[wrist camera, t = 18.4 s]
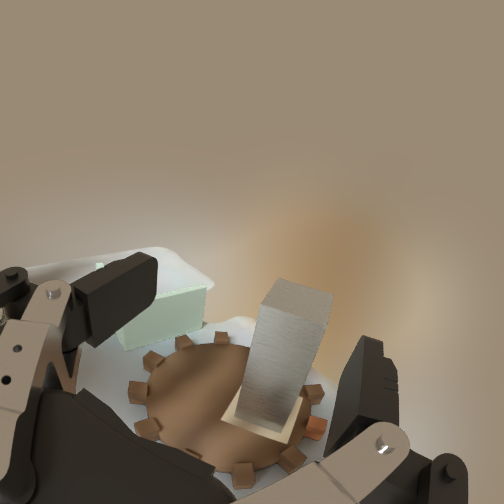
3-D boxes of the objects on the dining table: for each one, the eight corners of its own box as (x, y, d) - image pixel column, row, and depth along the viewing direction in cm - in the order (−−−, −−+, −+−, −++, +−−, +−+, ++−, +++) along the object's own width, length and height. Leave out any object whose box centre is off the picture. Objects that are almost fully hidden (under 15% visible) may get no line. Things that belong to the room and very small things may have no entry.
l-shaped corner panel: (201, 331, 42) (206, 287, 39) (126, 354, 34) (121, 306, 31) (164, 292, 49) (165, 252, 47) (99, 306, 41) (95, 263, 39)
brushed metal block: (234, 416, 26) (260, 303, 21) (250, 386, 31) (278, 277, 26) (280, 433, 25) (327, 325, 20) (292, 400, 29) (333, 294, 24)
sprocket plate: (90, 419, 23) (86, 408, 22) (190, 323, 42) (191, 312, 41) (294, 518, 17) (301, 512, 16) (333, 375, 36) (338, 364, 35)
